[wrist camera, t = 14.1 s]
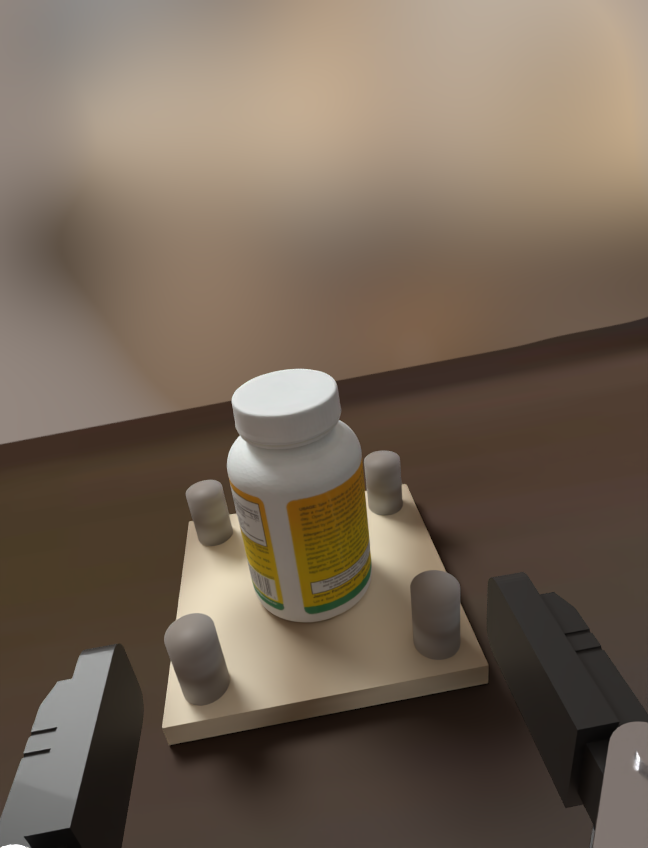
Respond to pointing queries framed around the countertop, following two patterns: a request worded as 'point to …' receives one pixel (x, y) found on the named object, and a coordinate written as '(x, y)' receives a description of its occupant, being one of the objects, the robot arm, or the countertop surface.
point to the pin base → (312, 625)
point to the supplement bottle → (299, 496)
